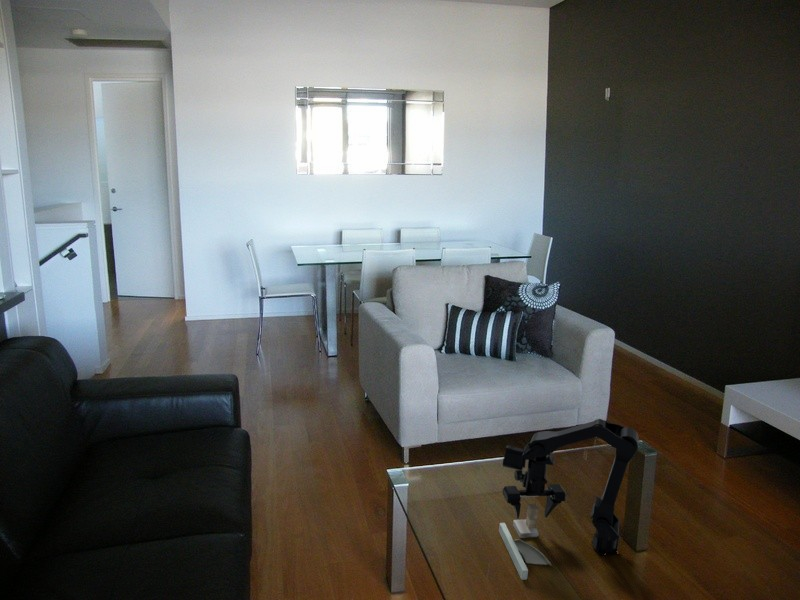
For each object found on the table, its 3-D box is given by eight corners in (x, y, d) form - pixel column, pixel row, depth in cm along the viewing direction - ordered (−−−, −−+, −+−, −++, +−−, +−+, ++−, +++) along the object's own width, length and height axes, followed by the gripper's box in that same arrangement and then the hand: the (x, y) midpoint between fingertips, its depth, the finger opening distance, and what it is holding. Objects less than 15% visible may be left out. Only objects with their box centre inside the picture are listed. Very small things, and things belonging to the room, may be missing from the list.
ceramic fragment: (552, 567, 190) (554, 556, 189) (541, 575, 187) (543, 563, 186) (514, 544, 200) (515, 533, 199) (503, 551, 197) (504, 539, 196)
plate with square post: (530, 523, 210) (533, 499, 207) (538, 537, 203) (541, 512, 201) (513, 524, 209) (515, 500, 206) (520, 538, 202) (522, 513, 200)
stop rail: (503, 531, 205) (504, 522, 204) (527, 579, 184) (528, 570, 183) (498, 531, 205) (499, 523, 204) (521, 579, 184) (522, 570, 183)
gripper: (556, 458, 210) (550, 501, 214) (499, 460, 207) (495, 503, 211) (569, 477, 199) (563, 521, 203) (510, 479, 196) (505, 524, 201)
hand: (531, 517), depth 205 cm, fingers open, 9 cm apart
